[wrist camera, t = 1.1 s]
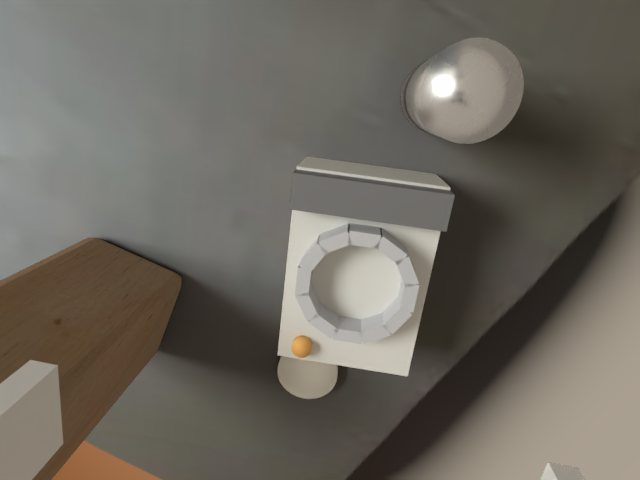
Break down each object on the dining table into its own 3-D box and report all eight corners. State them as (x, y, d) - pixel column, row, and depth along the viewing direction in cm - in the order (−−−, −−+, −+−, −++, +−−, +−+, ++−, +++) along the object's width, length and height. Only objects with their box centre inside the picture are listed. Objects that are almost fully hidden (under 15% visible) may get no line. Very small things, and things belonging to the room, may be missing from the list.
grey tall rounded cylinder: (406, 57, 32) (431, 31, 21) (473, 65, 32) (537, 43, 20) (394, 126, 34) (411, 137, 22) (458, 134, 33) (508, 150, 22)
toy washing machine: (307, 156, 35) (292, 170, 27) (435, 173, 34) (456, 193, 27) (289, 319, 40) (272, 369, 33) (400, 337, 40) (410, 392, 32)
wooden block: (188, 274, 40) (32, 427, 21) (159, 352, 43) (1, 547, 24) (92, 230, 39) (-158, 348, 20) (70, 313, 42) (-163, 481, 24)
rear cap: (282, 334, 41) (280, 343, 40) (341, 344, 41) (341, 352, 39) (277, 384, 43) (274, 393, 42) (334, 393, 43) (333, 403, 41)
